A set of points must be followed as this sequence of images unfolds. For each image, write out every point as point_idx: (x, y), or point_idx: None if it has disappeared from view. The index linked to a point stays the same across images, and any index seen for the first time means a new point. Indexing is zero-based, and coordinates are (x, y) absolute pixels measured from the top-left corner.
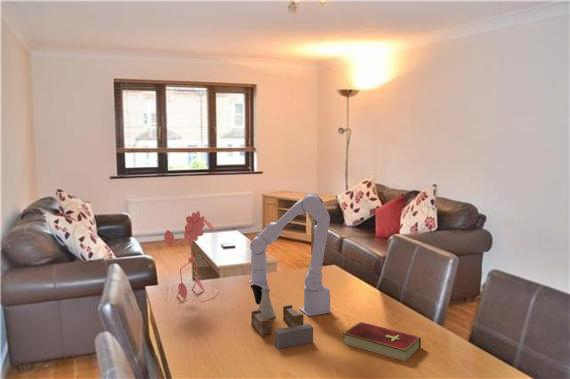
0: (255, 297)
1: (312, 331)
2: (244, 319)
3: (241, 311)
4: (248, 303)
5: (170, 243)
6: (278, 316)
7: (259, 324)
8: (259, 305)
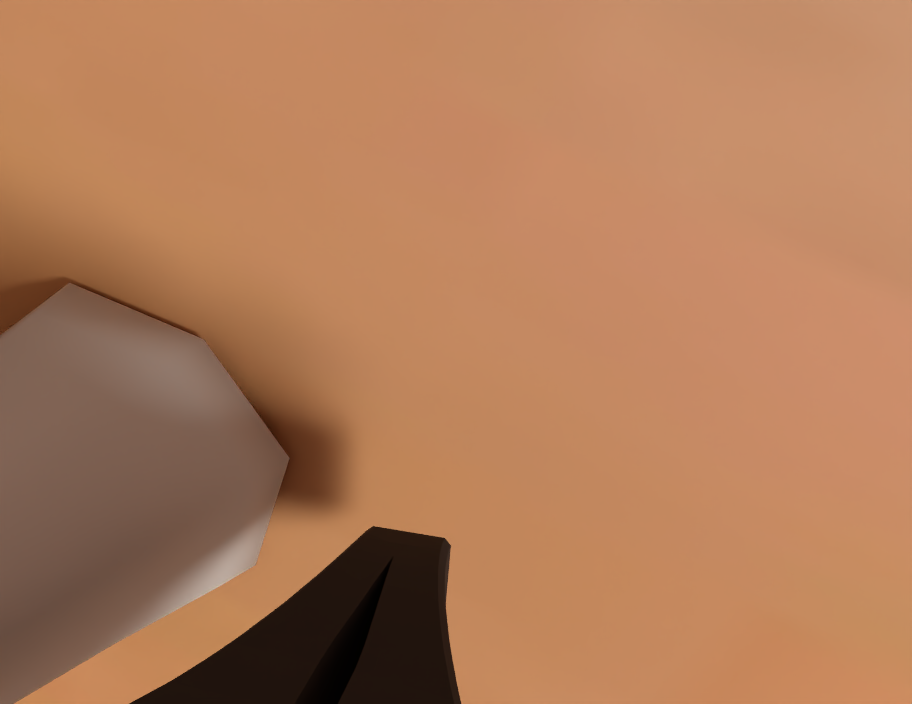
0: (344, 620)
1: None
2: (89, 40)
3: (526, 165)
4: (882, 500)
5: None
6: None
7: None
8: (11, 471)
